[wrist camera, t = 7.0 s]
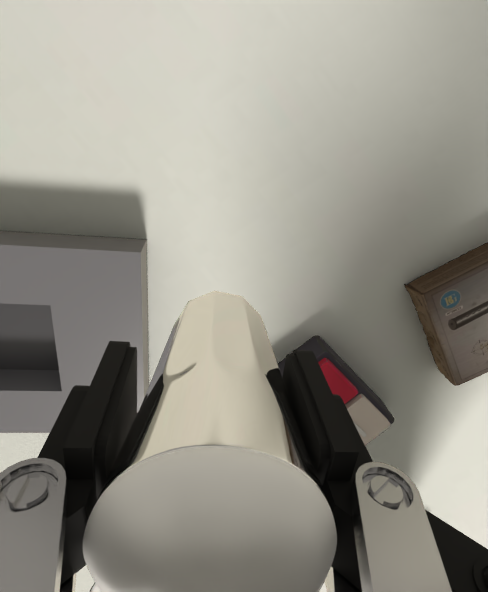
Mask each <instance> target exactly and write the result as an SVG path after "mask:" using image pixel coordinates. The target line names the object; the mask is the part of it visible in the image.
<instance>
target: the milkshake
mask: <svg viewBox="0 0 488 592" xmlns="http://www.w3.org/2000/svg"><path fill="white" fill-rule="evenodd" d="M336 546H337V532H336V526H335V521H334V517H333V514H332V511H331V508H330V506H329V503H328V500H327V498H326V495H325V492H324V490H323V487H322V485H321V482H320V479H319V477H318V474H317V472H316V469H315V466H314V464H313V461H312V459H311V456H310V453H309V451H308V448H307V446H306V443H305V440H304V438H303V435H302V432H301V430H300V427H299V425H298V422H297V419H296V417H295V414H294V411H293V408H292V406H291V403H290V400H289V397H288V394H287V391H286V388H285V385H284V382H283V379H282V376H281V373H280V370H279V367H278V364H277V361H276V358H275V355H274V352H273V349H272V346H271V343H270V340H269V338H268V335H267V332H266V329H265V326H264V323H263V320H262V317H261V315H260V314H259V313H258V312H257V311H256V310H255V309H254V308H253V307H252V306H251V305H250V304H249V303H248V301H247V300H246V299H245V298H244V297H243V296H239V295H234V294H229V293H224V292H219V291H212V292H210V293H207V294H205V295H202V296H200V297H197V298H195V299H192V300H190V301H188V303H187V304H186V306H185V308H184V309H183V311H182V313H181V314H180V316H179V318H178V319H177V321H176V322H175V324H174V327H173V329H172V331H171V334H170V336H169V339H168V341H167V344H166V346H165V348H164V351H163V353H162V356H161V358H160V361H159V363H158V366H157V368H156V370H155V373H154V375H153V378H152V380H151V383H150V385H149V388H148V390H147V392H146V395H145V397H144V400H143V402H142V405H141V407H140V409H139V411H138V413H137V415H136V417H135V419H134V421H133V423H132V425H131V428H130V430H129V432H128V434H127V436H126V438H125V440H124V443H123V445H122V447H121V449H120V451H119V453H118V456H117V458H116V460H115V462H114V464H113V466H112V469H111V471H110V473H109V475H108V477H107V479H106V482H105V484H104V486H103V488H102V490H101V492H100V495H99V497H98V499H97V501H96V504H95V506H94V508H93V510H92V512H91V514H90V516H89V519H88V522H87V525H86V528H85V532H84V536H83V555H84V559H85V562H86V565H87V567H88V570H89V572H90V574H91V576H92V578H93V579H94V581H95V583H94V585H93V586H92V588H91V590H90V592H319V591H320V589H321V587H322V585H323V583H324V581H325V579H326V577H327V575H328V573H329V570H330V567H331V565H332V562H333V559H334V556H335V552H336Z"/></svg>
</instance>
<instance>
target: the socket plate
mask: <svg viewBox="0 0 488 592" xmlns="http://www.w3.org/2000/svg"><path fill="white" fill-rule="evenodd" d="M109 341H124V342H130V347H137V413H138V411H139V409H140V407H141V405H142V402H143V400H144V397H145V395H146V392H147V390H148V388H149V354H148V288H147V240H146V239H129V238H112V237H96V236H79V235H62V234H45V233H29V232H12V231H0V433H50V432H51V430H52V428H53V426H54V424H55V422H56V420H57V418H58V416H59V414H60V412H61V410H62V408H63V406H64V404H65V402H66V400H67V397H68V395H69V393H70V391H71V390H72V388H73V387H74V386H75V385H83V386H90V384H91V382H92V380H93V377H94V375H95V373H96V370H97V368H98V366H99V364H100V361H101V359H102V357H103V354H104V352H105V350H106V347H107V345H108V343H109Z"/></svg>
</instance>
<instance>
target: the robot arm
mask: <svg viewBox="0 0 488 592" xmlns="http://www.w3.org/2000/svg"><path fill="white" fill-rule="evenodd" d="M282 379H283V382H284V385H285V388H286V391H287V394H288V397H289V400H290V403H291V406H292V408H293V411H294V414H295V417H296V419H297V422H298V425H299V427H300V430H301V432H302V435H303V438H304V440H305V443H306V446H307V448H308V451H309V453H310V456H311V459H312V461H313V464H314V466H315V469H316V472H317V474H318V477H319V479H320V482H321V485H322V487H323V490H324V492H325V495H326V498H327V500H328V503H329V506H330V508H331V511H332V514H333V517H334V521H335V526H336V532H337V546H336V552H335V556H334V559H333V562H332V565H331V567H330V570H329V573H328V575H327V577H326V579H325V585H326V589H327V592H488V549H486V548H485V547H483V546H482V545H480V544H478V543H477V542H475V541H474V540H472V539H471V538H469V537H467V536H466V535H464V534H463V533H461V532H460V531H458V530H456V529H455V528H453V527H452V526H450V525H449V524H447V523H445V522H444V521H442V520H441V519H439V518H437V517H436V516H434V515H433V514H431V513H430V512H428V511H426V510H425V508H424V505H423V502H422V499H421V496H420V493H419V491H418V489H417V487H416V485H415V484H414V483H413V481H412V480H411V479H410V478H409V477H408V476H407V475H406V474H404V473H403V472H402V471H401V470H399V469H397V468H395V467H393V466H391V465H389V464H385V463H382V462H373V461H372V459H371V457H370V455H369V453H368V451H367V449H366V447H365V445H364V443H363V441H362V439H361V437H360V435H359V432H358V430H357V428H356V426H355V424H354V422H353V420H352V418H351V416H350V414H349V412H348V410H347V408H346V406H345V404H344V401H343V399H342V398H341V396H339V395H338V394H332V392H331V389H330V387H329V385H328V383H327V381H326V378H325V376H324V374H323V372H322V370H321V368H320V365H319V363H318V361H317V359H316V357H315V354H314V353H313V351H305V350H294V351H293V353H292V355H291V354H288V355H287V356H286V360H285V365H284V371H283V376H282ZM136 415H137V347H130V342H124V341H109V343H108V345H107V347H106V350H105V352H104V354H103V357H102V359H101V361H100V364H99V366H98V368H97V370H96V373H95V375H94V377H93V380H92V382H91V384H90V386H83V385H75V386H74V387H73V388H72V390H71V391H70V393H69V395H68V397H67V400H66V402H65V404H64V406H63V408H62V410H61V412H60V414H59V416H58V418H57V420H56V422H55V424H54V426H53V428H52V430H51V432H50V434H49V436H48V438H47V440H46V442H45V444H44V446H43V448H42V450H41V452H40V454H39V456H38V458H32V459H28V460H24V461H21V462H18V463H16V464H14V465H12V466H10V467H8V468H7V469H5V470H4V471H3V472H1V473H0V592H75V585H76V573H77V572H78V571H79V570H80V569H81V568H83V567H84V566H85V565H86V562H85V559H84V555H83V536H84V532H85V528H86V525H87V522H88V519H89V516H90V514H91V512H92V510H93V508H94V506H95V504H96V501H97V499H98V497H99V495H100V492H101V490H102V488H103V486H104V484H105V482H106V479H107V477H108V475H109V473H110V471H111V469H112V466H113V464H114V462H115V460H116V458H117V456H118V453H119V451H120V449H121V447H122V445H123V443H124V440H125V438H126V436H127V434H128V432H129V430H130V428H131V425H132V423H133V421H134V419H135V417H136Z"/></svg>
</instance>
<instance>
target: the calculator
mask: <svg viewBox="0 0 488 592" xmlns="http://www.w3.org/2000/svg"><path fill="white" fill-rule="evenodd" d="M297 350H305V351H313V353H314V354H315V357H316V359H317V361H318V363H319V365H320V368H321V370H322V372H323V374H324V376H325V378H326V381H327V383H328V385H329V387H330V389H331V392H332V394H338V395H339V396H341V398H342V399H343V401H344V404H345V406H346V408H347V410H348V412H349V414H350V416H351V418H352V420H353V422H354V424H355V426H356V428H357V430H358V432H359V435H360V437H361V439H362V441H363V443H364V445H366V444H368V443H369V442H370V441H372V440H373V439H374V438H376V437H377V436H378V435H380V434H381V433H383V432H384V431H385V430H387V429H388V428H389V427H390V426H391V424H392V423H393V422H394V418H393V416H392V415H391V413H390V412H389V410H388V409H387V408H386V406H385V405H384V403H383V402H382V401H381V399H380V398H379V397H378V396H377V395H376V394H375V393H374V392H373V391H372V390H371V389H370V388H369V387H368V386H367V385H366V384H365V383H364V382H363V381H362V380H361V379H360V378H359V377H358V376H357V374H356V373H355V372H354V371H353V370H352V369H351V368H350V367H349V366H348V365H347V364H346V363H345V362H344V361H343V360H342V359H341V358H340V357H339V356H338V355H337V354H336V353H335V352H334V351H333V350H332V349H331V348H330V346H329V345H328V344H327V343H326V342H325V341H324V340H323V339H322V338H321V337H320V336H314V337H312V338H311V339H309V340H308V341H307V342H306V343H304V344H303V345H302V346H300V347H299V348H298V349H297ZM291 355H292V353H291ZM285 360H286V358H285V359H284V360H282V361H281V362H280V363H279V364H278V367H279V370H280V373H281V376H283V371H284V365H285Z"/></svg>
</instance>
